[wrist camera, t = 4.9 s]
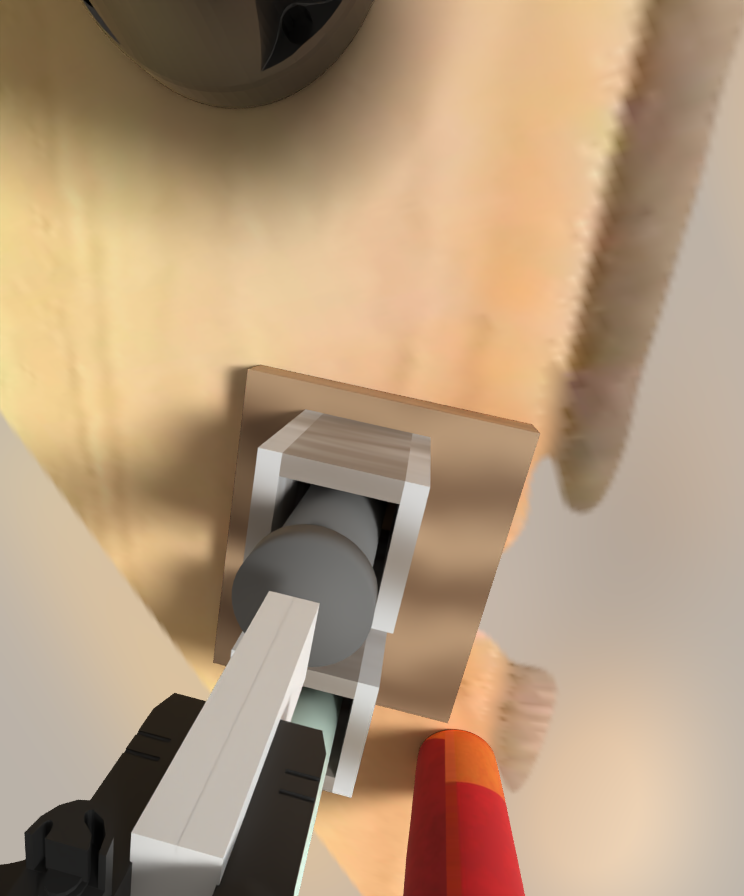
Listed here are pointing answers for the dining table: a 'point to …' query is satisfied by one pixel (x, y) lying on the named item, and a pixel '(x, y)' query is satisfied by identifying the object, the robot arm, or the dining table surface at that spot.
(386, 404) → the socket board
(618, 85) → the dining table surface
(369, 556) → the gray plug
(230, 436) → the dining table surface
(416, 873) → the paper cup
